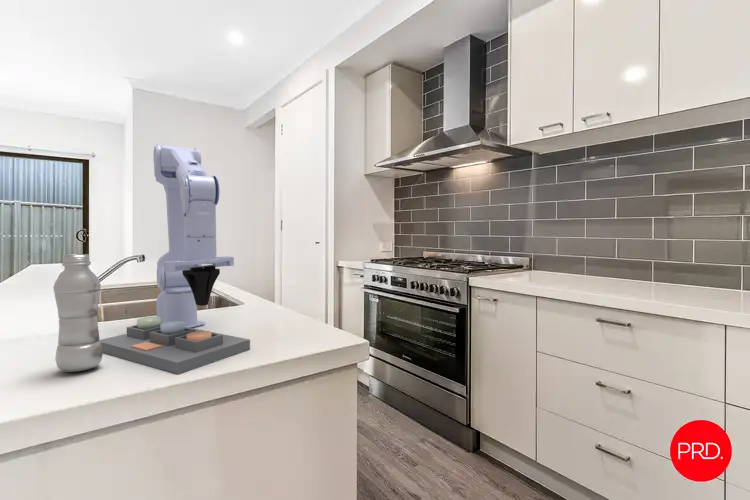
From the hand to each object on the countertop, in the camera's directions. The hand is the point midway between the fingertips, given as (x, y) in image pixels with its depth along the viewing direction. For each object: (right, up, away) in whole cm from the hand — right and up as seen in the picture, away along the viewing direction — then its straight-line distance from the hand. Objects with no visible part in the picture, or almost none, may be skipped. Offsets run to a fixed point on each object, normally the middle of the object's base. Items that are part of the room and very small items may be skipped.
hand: (202, 304), depth 81 cm
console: (-6, -9, +1) cm, 11 cm away
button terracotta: (+1, -7, -3) cm, 8 cm away
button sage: (-13, -6, +4) cm, 15 cm away
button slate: (-6, -6, 0) cm, 8 cm away
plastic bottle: (-16, -10, -11) cm, 22 cm away
